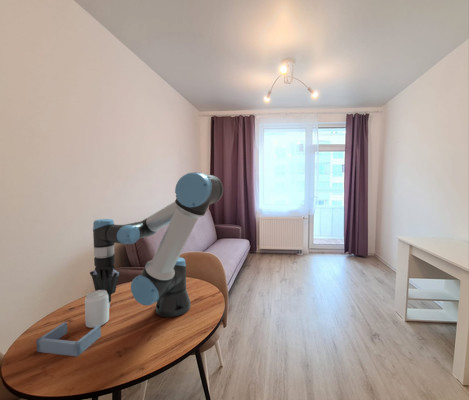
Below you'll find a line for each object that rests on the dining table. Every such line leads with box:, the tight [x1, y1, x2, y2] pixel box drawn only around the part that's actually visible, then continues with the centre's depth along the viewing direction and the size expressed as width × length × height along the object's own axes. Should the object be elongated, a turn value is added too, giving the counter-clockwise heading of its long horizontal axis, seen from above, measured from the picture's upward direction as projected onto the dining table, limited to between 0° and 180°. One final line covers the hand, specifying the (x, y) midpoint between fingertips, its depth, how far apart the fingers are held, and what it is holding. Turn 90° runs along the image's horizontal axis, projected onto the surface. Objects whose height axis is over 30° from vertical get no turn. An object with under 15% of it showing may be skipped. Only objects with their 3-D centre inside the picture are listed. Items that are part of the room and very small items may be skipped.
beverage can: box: [84, 290, 110, 329], centre depth 88 cm, size 8×8×12 cm
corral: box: [35, 321, 102, 358], centre depth 76 cm, size 15×10×4 cm, turn 81°
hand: (106, 309), depth 94 cm, fingers closed
